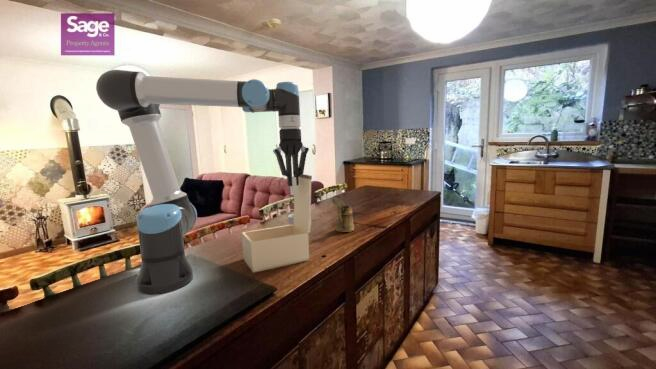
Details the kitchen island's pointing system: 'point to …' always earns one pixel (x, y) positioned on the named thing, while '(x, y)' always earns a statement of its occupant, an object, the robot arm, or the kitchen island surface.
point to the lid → (303, 203)
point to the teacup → (291, 220)
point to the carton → (275, 247)
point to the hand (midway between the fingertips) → (293, 194)
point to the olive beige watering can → (343, 215)
